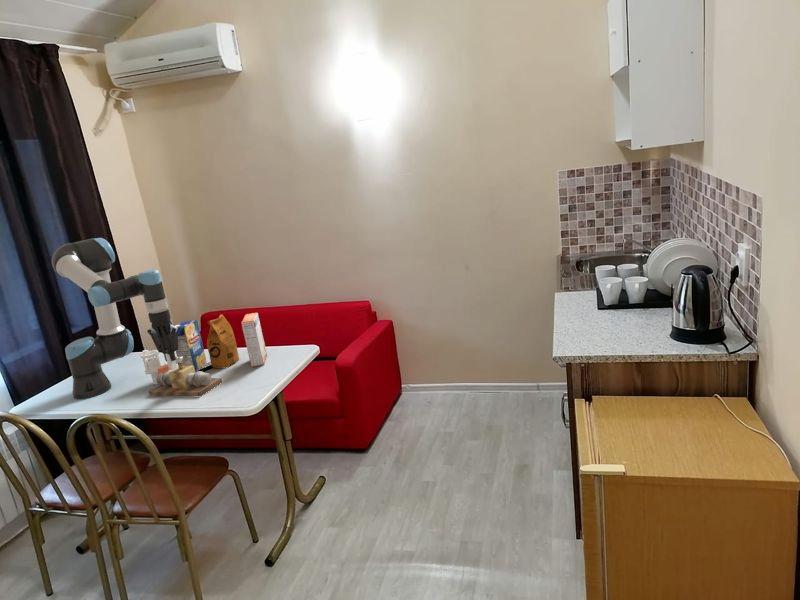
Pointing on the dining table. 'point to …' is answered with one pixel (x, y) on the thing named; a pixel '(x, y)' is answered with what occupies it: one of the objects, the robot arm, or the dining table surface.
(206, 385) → the valve stand
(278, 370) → the dining table surface
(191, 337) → the beverage box
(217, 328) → the coffee package
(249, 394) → the dining table surface
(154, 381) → the white upright piece
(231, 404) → the dining table surface
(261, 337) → the cracker box
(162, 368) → the valve lever
